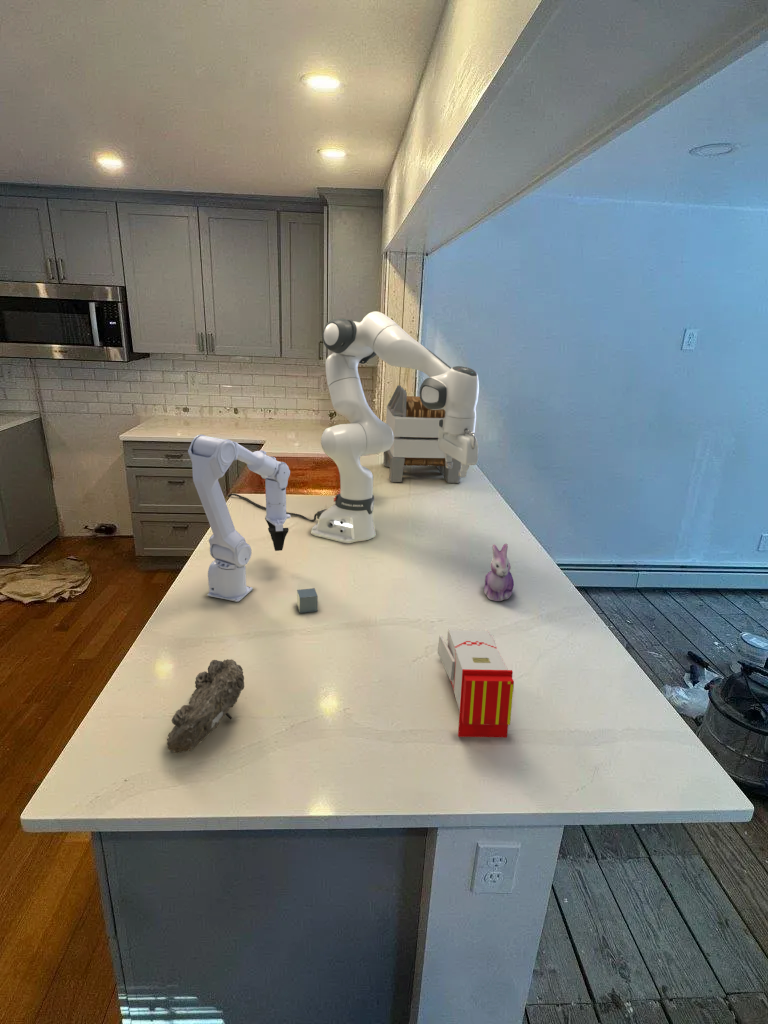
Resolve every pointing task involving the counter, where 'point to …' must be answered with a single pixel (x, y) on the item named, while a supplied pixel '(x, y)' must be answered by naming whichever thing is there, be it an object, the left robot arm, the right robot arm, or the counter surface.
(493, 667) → the toy
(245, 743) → the counter surface
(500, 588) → the figurine
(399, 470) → the transformer
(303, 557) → the counter surface
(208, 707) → the fossil
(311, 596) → the block
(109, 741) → the counter surface
